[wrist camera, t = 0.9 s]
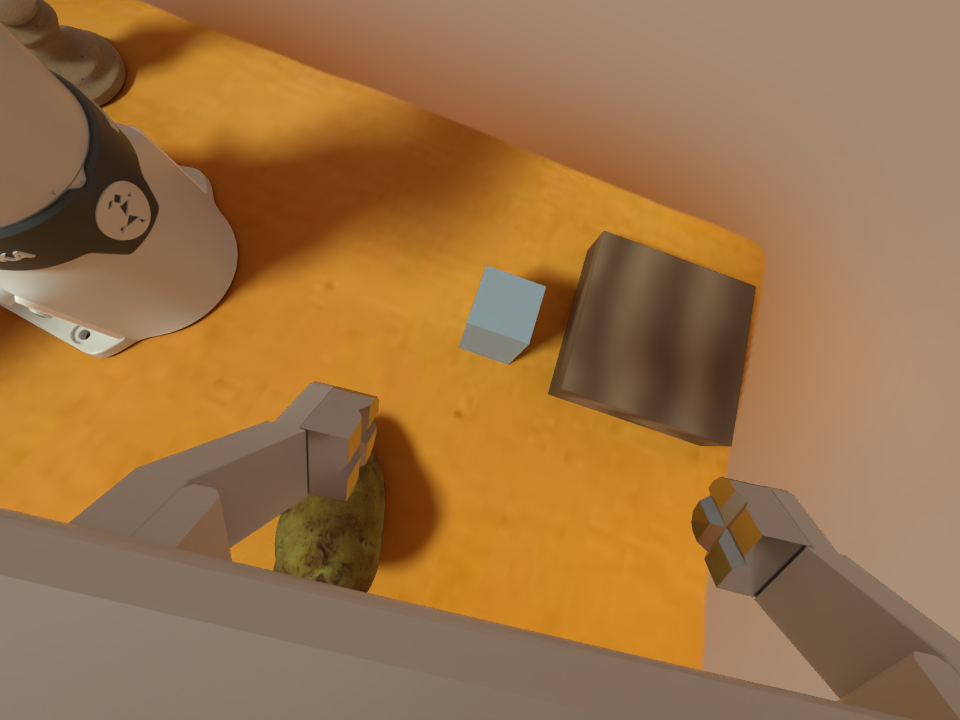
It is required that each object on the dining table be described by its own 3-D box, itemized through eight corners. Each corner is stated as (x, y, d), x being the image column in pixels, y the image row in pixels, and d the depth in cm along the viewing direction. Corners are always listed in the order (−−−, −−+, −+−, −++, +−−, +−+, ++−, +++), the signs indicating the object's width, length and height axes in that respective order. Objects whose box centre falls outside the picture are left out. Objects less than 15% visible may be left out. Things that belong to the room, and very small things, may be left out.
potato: (420, 450, 35) (417, 452, 27) (365, 605, 32) (345, 658, 24) (330, 420, 34) (301, 414, 26) (266, 574, 31) (212, 618, 23)
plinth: (548, 394, 37) (562, 388, 33) (587, 250, 41) (603, 230, 37) (700, 445, 38) (731, 446, 34) (725, 300, 42) (755, 286, 38)
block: (458, 347, 37) (467, 322, 29) (474, 301, 38) (486, 265, 30) (508, 364, 37) (528, 344, 30) (522, 317, 39) (546, 286, 31)
